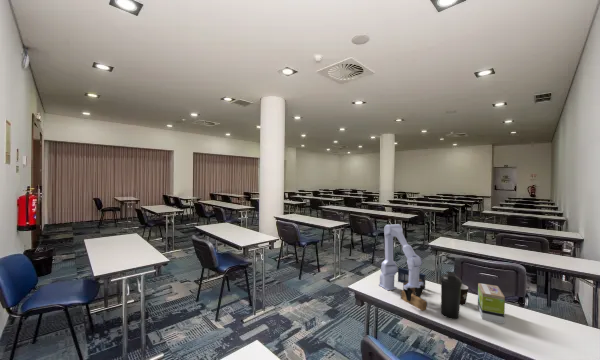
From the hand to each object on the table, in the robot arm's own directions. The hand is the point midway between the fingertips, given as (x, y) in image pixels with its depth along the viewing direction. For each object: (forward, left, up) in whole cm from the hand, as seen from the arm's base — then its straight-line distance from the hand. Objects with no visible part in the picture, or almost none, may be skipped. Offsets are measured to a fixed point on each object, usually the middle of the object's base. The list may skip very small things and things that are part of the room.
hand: (413, 299), depth 155 cm
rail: (0, 0, -3) cm, 3 cm away
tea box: (+26, +30, -3) cm, 40 cm away
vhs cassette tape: (-20, +21, -3) cm, 29 cm away
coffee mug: (+9, +27, -3) cm, 29 cm away
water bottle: (+17, +9, -3) cm, 19 cm away
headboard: (-9, +13, -3) cm, 16 cm away
